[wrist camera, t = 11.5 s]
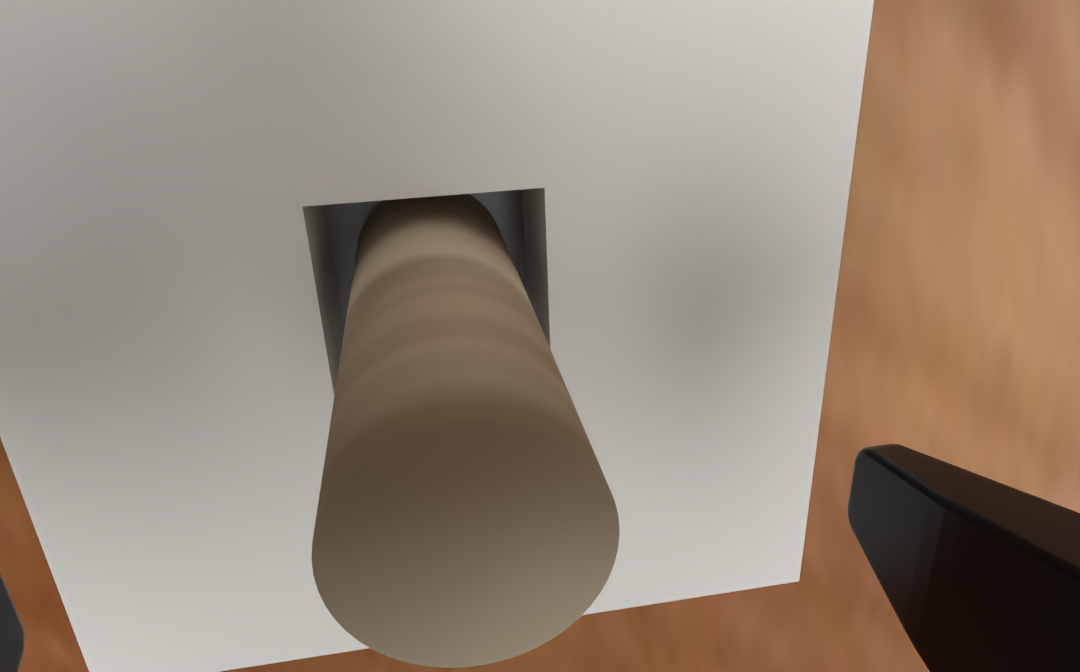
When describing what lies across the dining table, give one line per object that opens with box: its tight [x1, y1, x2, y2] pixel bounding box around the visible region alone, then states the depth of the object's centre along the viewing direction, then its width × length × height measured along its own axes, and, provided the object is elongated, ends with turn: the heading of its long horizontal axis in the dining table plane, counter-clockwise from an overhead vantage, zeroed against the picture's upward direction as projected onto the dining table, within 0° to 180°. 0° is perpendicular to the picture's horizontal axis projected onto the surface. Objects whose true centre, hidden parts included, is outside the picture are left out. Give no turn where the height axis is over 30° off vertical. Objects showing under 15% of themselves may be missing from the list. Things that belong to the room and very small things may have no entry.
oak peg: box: [311, 194, 620, 668], centre depth 13 cm, size 3×3×10 cm
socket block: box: [0, 0, 874, 672], centre depth 16 cm, size 16×16×4 cm
